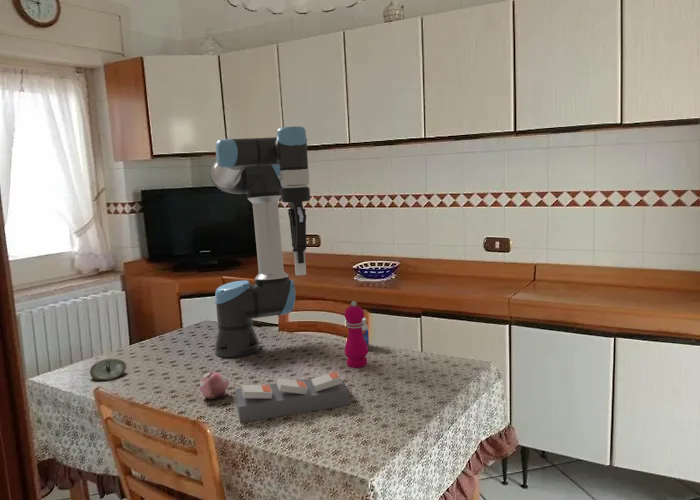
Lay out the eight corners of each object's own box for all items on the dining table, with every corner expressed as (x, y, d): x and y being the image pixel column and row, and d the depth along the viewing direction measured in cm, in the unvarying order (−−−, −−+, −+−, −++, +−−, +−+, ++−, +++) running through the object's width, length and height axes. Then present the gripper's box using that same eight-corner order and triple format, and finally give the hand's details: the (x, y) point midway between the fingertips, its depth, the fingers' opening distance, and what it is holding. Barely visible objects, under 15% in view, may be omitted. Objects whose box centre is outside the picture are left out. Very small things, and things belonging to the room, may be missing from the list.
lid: (126, 368, 189) (124, 353, 188) (127, 377, 179) (125, 362, 179) (91, 373, 185) (89, 358, 184) (90, 384, 176) (88, 368, 175)
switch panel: (236, 404, 155) (234, 388, 154) (338, 388, 162) (337, 373, 161) (239, 422, 143) (238, 406, 143) (350, 404, 150) (349, 389, 150)
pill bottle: (360, 350, 193) (358, 322, 192) (349, 347, 197) (348, 319, 196) (372, 346, 197) (371, 318, 195) (362, 343, 201) (360, 315, 199)
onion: (197, 402, 160) (192, 376, 161) (221, 396, 165) (217, 370, 166) (211, 400, 154) (207, 372, 155) (236, 393, 160) (232, 367, 161)
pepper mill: (355, 359, 185) (351, 297, 182) (373, 363, 181) (370, 299, 178) (340, 365, 180) (336, 302, 177) (358, 370, 175) (355, 305, 172)
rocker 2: (276, 384, 151) (278, 377, 151) (302, 387, 153) (304, 381, 153) (279, 391, 146) (281, 384, 146) (306, 394, 148) (308, 387, 148)
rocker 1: (241, 390, 149) (242, 384, 149) (269, 391, 151) (269, 384, 151) (243, 398, 144) (244, 391, 144) (271, 398, 146) (272, 391, 146)
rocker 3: (312, 384, 154) (310, 378, 153) (337, 376, 155) (335, 370, 155) (316, 391, 149) (314, 385, 149) (342, 383, 151) (340, 376, 150)
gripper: (277, 186, 159) (283, 272, 163) (284, 188, 147) (291, 280, 150) (304, 185, 161) (309, 269, 165) (314, 186, 149) (319, 277, 152)
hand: (300, 274), depth 157 cm, fingers closed
